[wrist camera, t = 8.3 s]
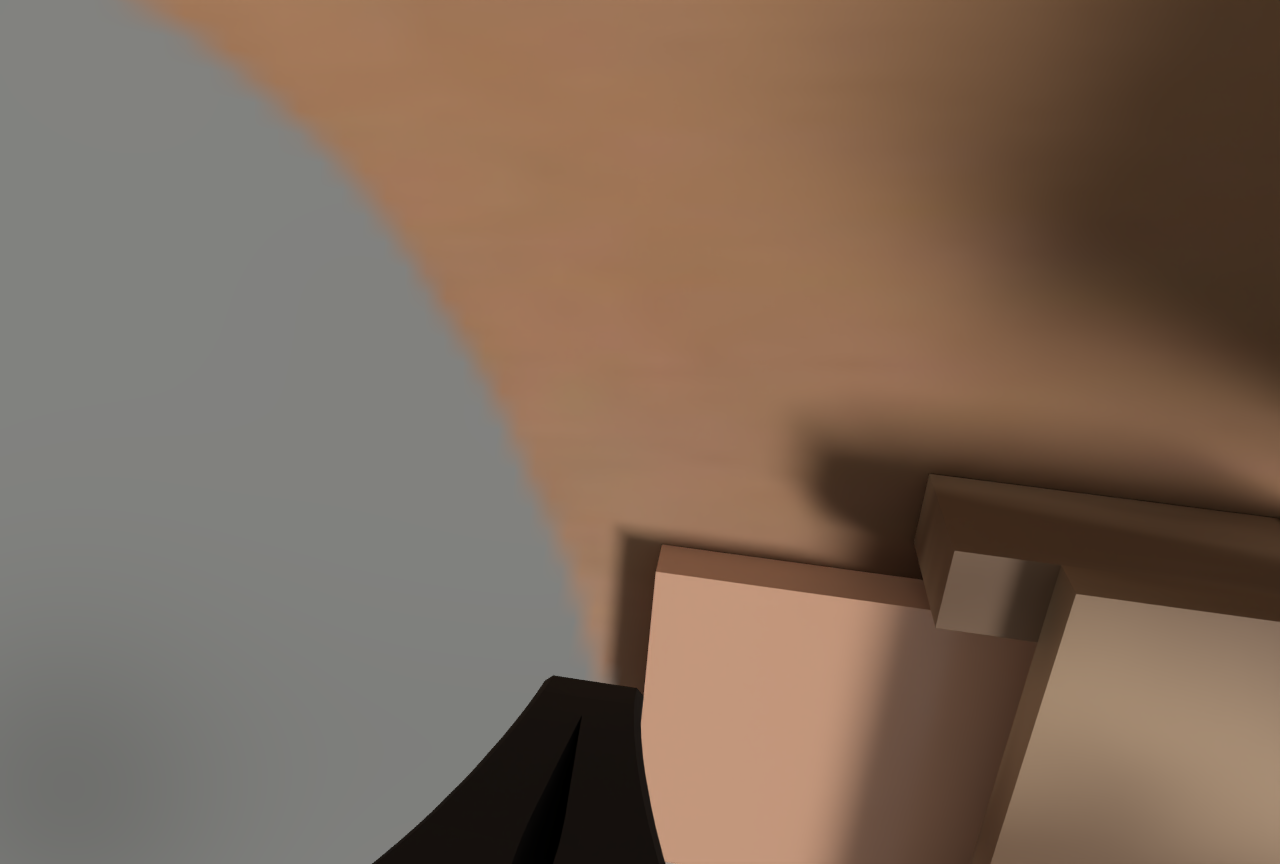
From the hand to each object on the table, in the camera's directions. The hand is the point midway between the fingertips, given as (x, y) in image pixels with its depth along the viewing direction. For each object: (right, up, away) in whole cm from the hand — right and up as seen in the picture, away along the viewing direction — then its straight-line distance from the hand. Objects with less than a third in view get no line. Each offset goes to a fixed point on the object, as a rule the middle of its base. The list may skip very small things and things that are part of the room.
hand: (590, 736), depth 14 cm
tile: (+7, -3, +11) cm, 14 cm away
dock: (+11, -4, +10) cm, 15 cm away
